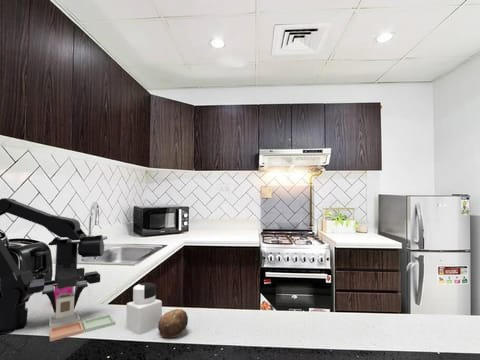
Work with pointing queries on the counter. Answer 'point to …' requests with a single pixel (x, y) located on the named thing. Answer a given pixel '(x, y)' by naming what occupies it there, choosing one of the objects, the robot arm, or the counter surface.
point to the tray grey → (63, 320)
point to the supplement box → (63, 291)
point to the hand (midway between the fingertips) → (64, 310)
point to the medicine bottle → (143, 309)
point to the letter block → (64, 305)
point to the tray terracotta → (66, 330)
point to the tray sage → (98, 322)
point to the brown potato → (173, 323)
